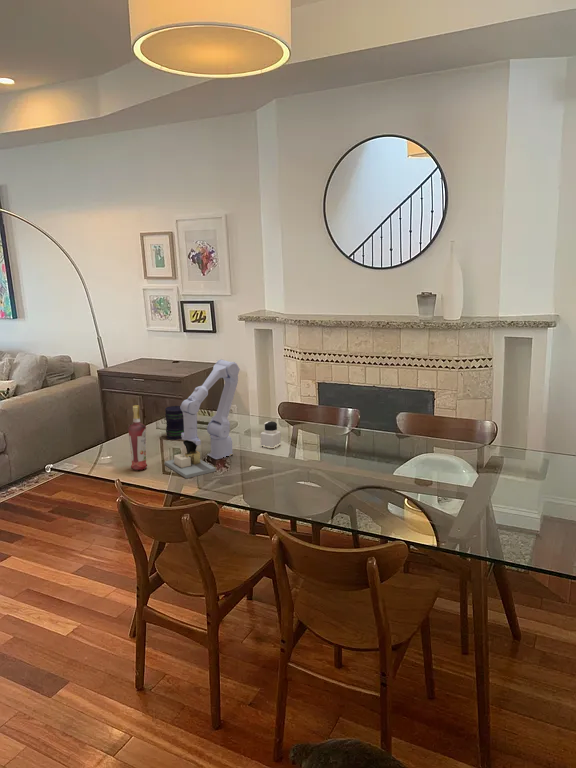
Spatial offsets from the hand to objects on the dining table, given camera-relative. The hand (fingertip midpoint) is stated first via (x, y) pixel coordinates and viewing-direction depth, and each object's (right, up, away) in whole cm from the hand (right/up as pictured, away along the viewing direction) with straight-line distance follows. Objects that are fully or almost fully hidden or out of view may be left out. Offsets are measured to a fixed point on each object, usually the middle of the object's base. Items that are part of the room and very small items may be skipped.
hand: (191, 456), depth 260 cm
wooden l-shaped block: (+1, -3, -3) cm, 4 cm away
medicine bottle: (+34, +2, +25) cm, 42 cm away
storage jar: (-14, +5, +38) cm, 41 cm away
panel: (0, -4, -4) cm, 6 cm away
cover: (-3, -3, -4) cm, 6 cm away
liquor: (-22, -5, -5) cm, 23 cm away
